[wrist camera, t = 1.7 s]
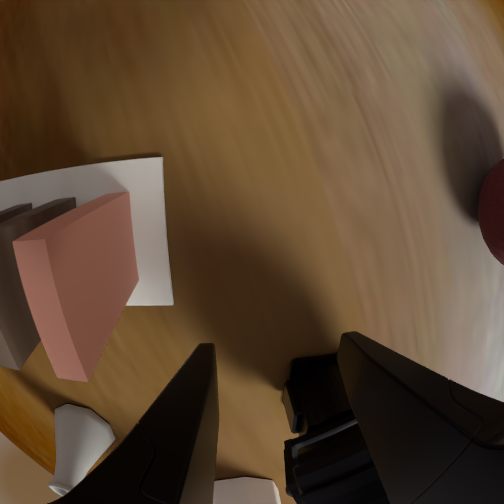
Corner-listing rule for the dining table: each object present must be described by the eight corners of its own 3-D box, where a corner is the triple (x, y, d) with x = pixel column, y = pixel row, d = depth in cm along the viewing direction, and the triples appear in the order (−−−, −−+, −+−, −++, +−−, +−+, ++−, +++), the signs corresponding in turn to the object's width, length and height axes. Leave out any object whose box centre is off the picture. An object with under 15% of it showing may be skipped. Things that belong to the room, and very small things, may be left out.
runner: (162, 157, 17) (161, 157, 16) (174, 302, 20) (173, 305, 20) (-50, 195, 15) (-53, 196, 14) (-28, 295, 18) (-31, 297, 18)
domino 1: (75, 196, 17) (-26, 244, 7) (88, 280, 19) (19, 370, 9) (56, 199, 16) (-45, 246, 7) (70, 280, 18) (-2, 365, 9)
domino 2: (129, 191, 17) (45, 239, 8) (139, 279, 19) (88, 382, 10) (106, 193, 17) (12, 241, 7) (117, 280, 19) (57, 378, 9)
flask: (46, 401, 23) (16, 468, 14) (93, 401, 23) (67, 481, 14) (79, 440, 26) (61, 502, 16) (126, 441, 26) (113, 513, 16)
